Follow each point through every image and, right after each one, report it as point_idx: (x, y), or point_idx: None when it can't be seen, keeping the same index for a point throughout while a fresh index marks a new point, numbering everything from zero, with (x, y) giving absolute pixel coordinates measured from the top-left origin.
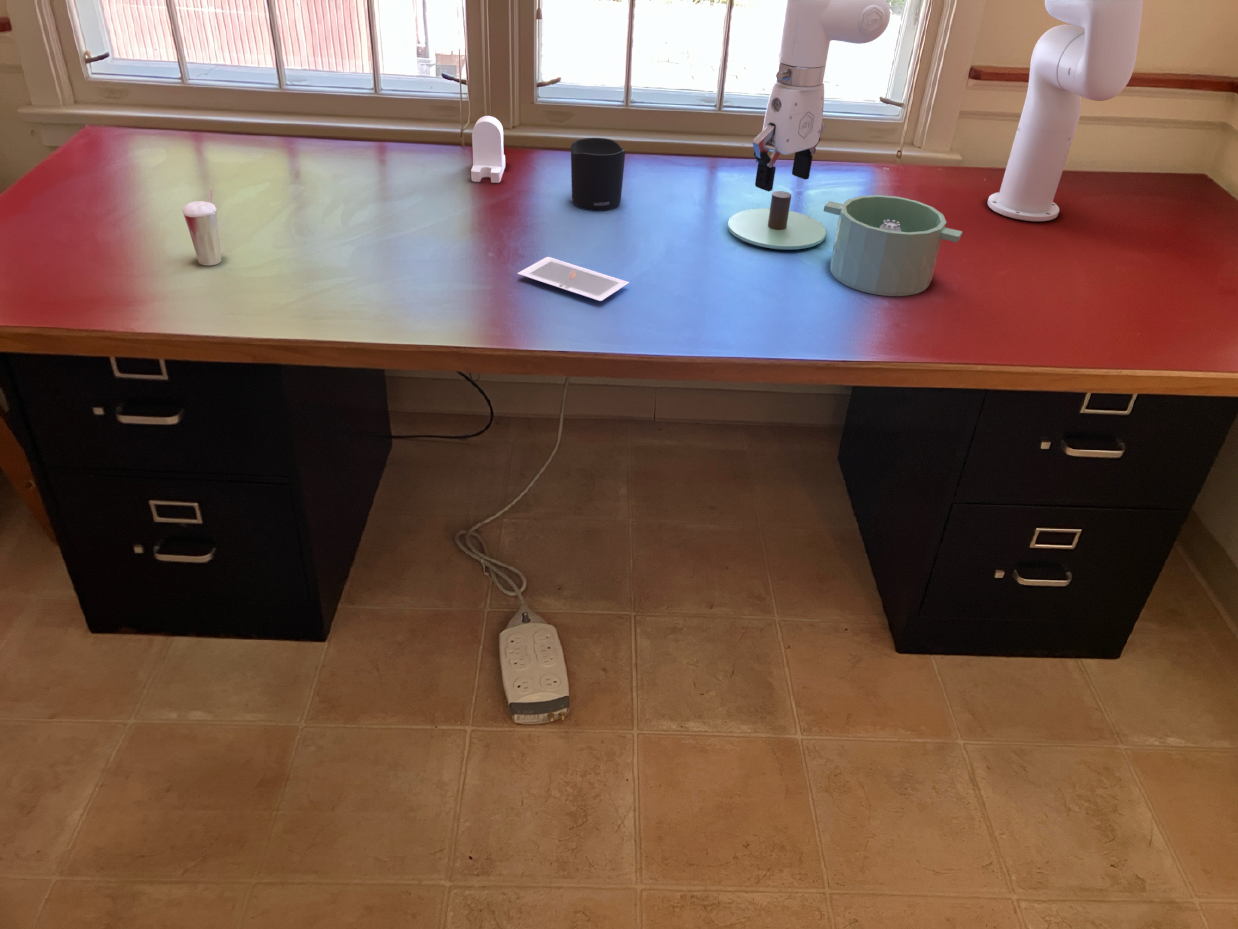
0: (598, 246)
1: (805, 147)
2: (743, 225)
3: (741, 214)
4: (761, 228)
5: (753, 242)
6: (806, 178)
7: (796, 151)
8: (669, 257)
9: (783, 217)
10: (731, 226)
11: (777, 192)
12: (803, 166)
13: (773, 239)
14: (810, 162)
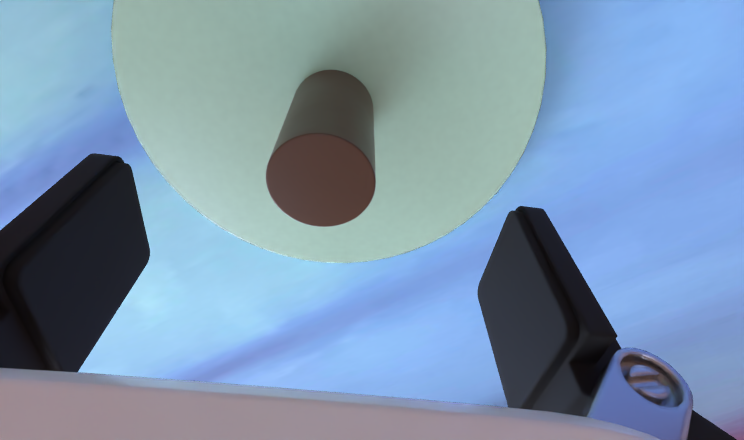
0: (719, 355)
1: (181, 409)
2: (419, 199)
3: (336, 248)
4: (399, 142)
5: (540, 96)
6: (118, 159)
7: (424, 405)
8: (736, 232)
9: (351, 95)
10: (455, 221)
11: (316, 210)
12: (93, 242)
13: (476, 44)
14: (25, 228)
